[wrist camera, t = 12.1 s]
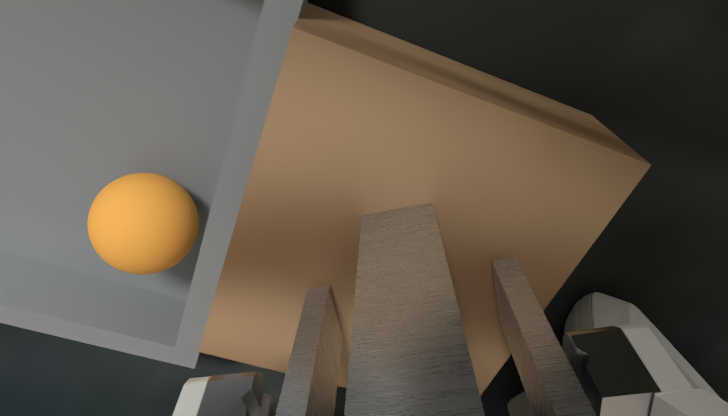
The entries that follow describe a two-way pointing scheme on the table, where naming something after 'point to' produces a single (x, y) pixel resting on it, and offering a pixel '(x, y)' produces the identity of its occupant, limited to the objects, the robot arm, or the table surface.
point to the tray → (127, 154)
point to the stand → (407, 187)
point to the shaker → (419, 334)
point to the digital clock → (605, 313)
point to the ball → (143, 223)
